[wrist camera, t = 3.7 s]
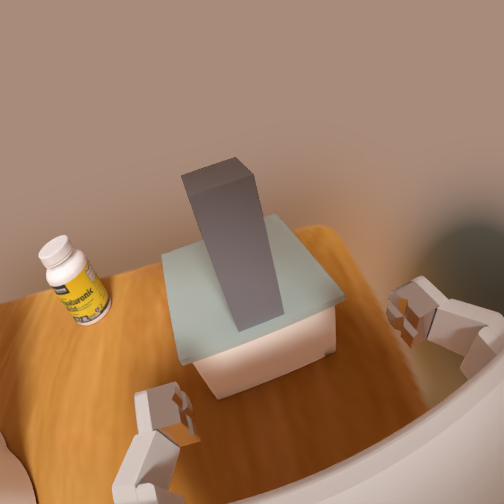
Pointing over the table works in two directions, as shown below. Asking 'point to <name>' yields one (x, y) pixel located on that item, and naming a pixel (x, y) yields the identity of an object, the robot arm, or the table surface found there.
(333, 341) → the carton
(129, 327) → the table surface
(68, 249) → the supplement bottle
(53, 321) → the table surface
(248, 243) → the carton lid
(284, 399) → the table surface
